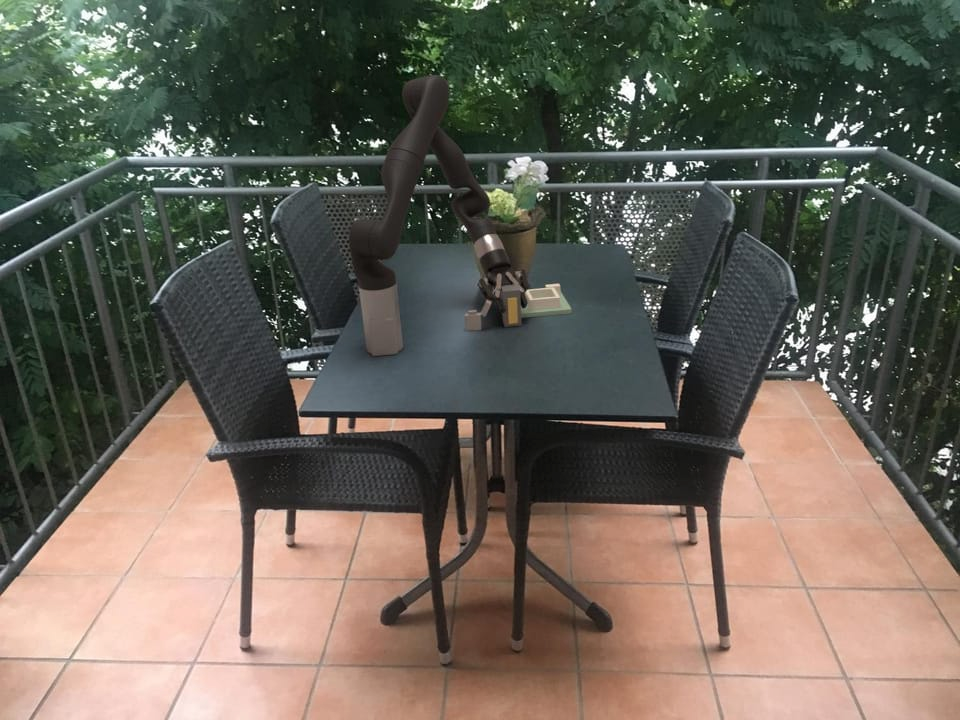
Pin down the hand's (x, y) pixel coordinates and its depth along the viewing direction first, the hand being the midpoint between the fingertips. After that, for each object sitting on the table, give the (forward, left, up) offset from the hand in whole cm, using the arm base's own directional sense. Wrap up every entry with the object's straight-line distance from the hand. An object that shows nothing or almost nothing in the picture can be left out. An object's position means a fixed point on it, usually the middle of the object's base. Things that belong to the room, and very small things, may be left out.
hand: (514, 309), depth 204 cm
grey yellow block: (+2, +1, -5) cm, 5 cm away
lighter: (0, +10, -5) cm, 11 cm away
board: (+13, -9, -5) cm, 16 cm away
